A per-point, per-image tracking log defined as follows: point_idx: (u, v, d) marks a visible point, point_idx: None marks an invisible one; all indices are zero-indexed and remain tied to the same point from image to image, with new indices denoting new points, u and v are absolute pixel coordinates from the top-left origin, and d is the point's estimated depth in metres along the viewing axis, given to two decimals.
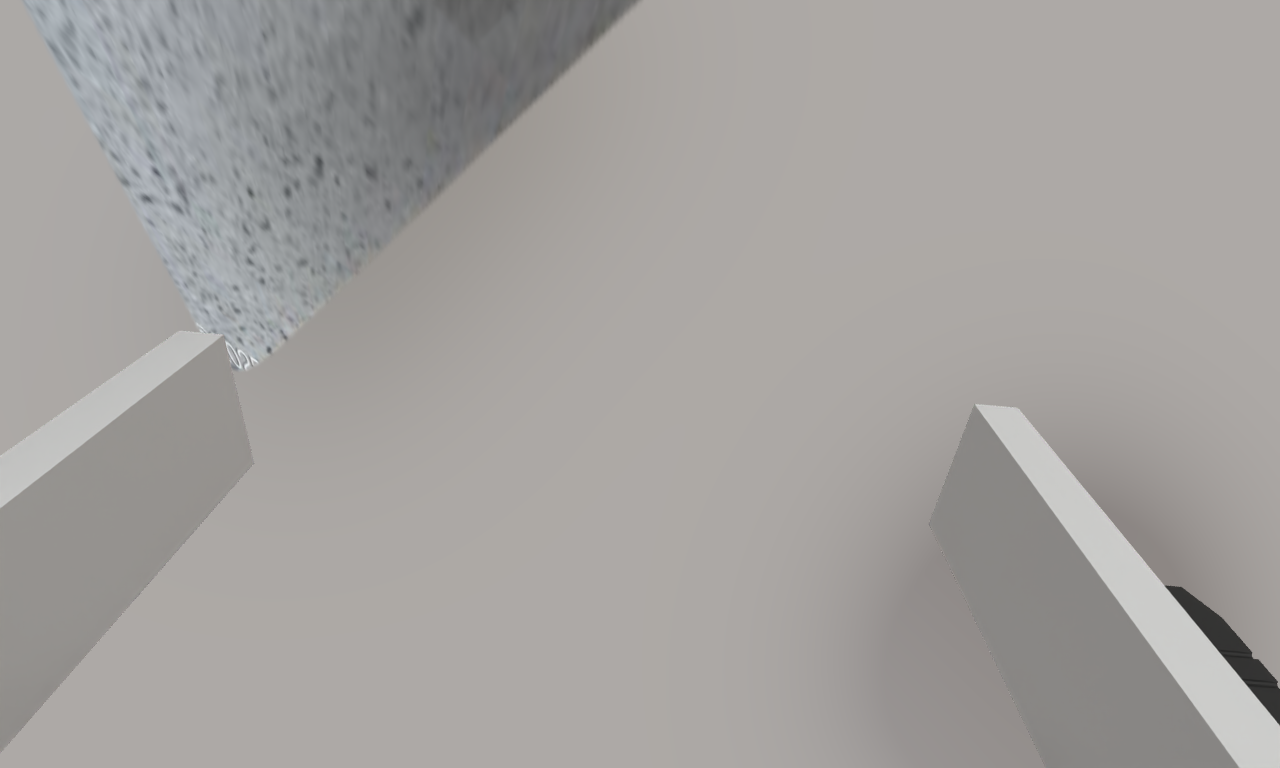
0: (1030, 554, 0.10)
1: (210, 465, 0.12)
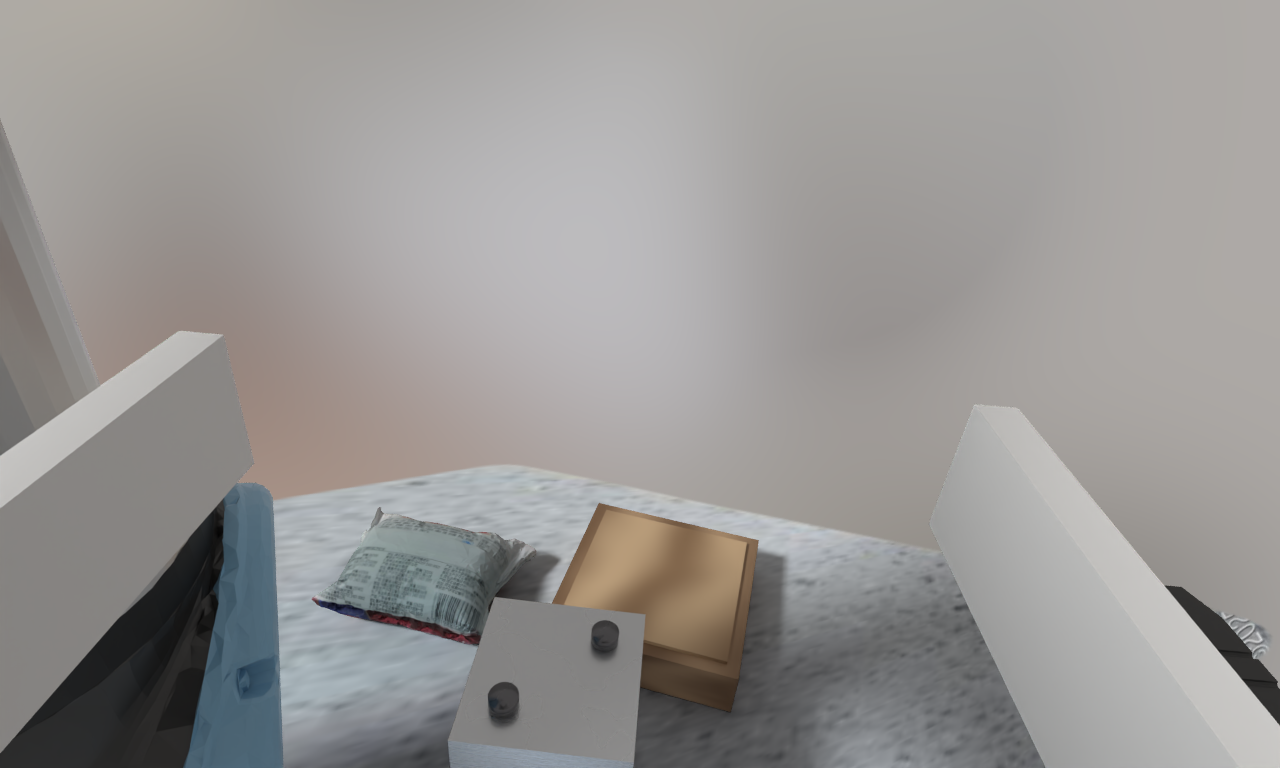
0: (1030, 554, 0.10)
1: (210, 465, 0.12)
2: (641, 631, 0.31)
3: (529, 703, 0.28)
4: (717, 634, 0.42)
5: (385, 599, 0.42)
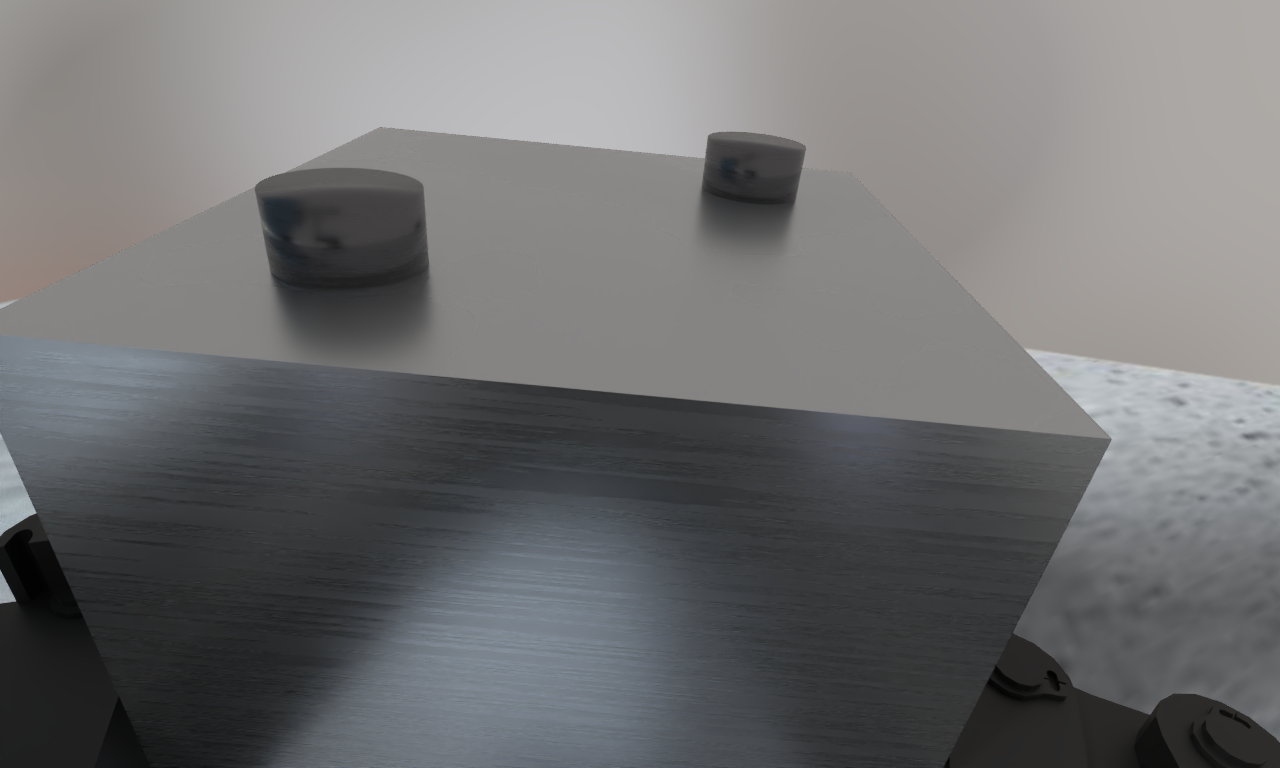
0: None
1: None
2: (858, 189, 0.09)
3: (477, 264, 0.06)
4: None
5: None
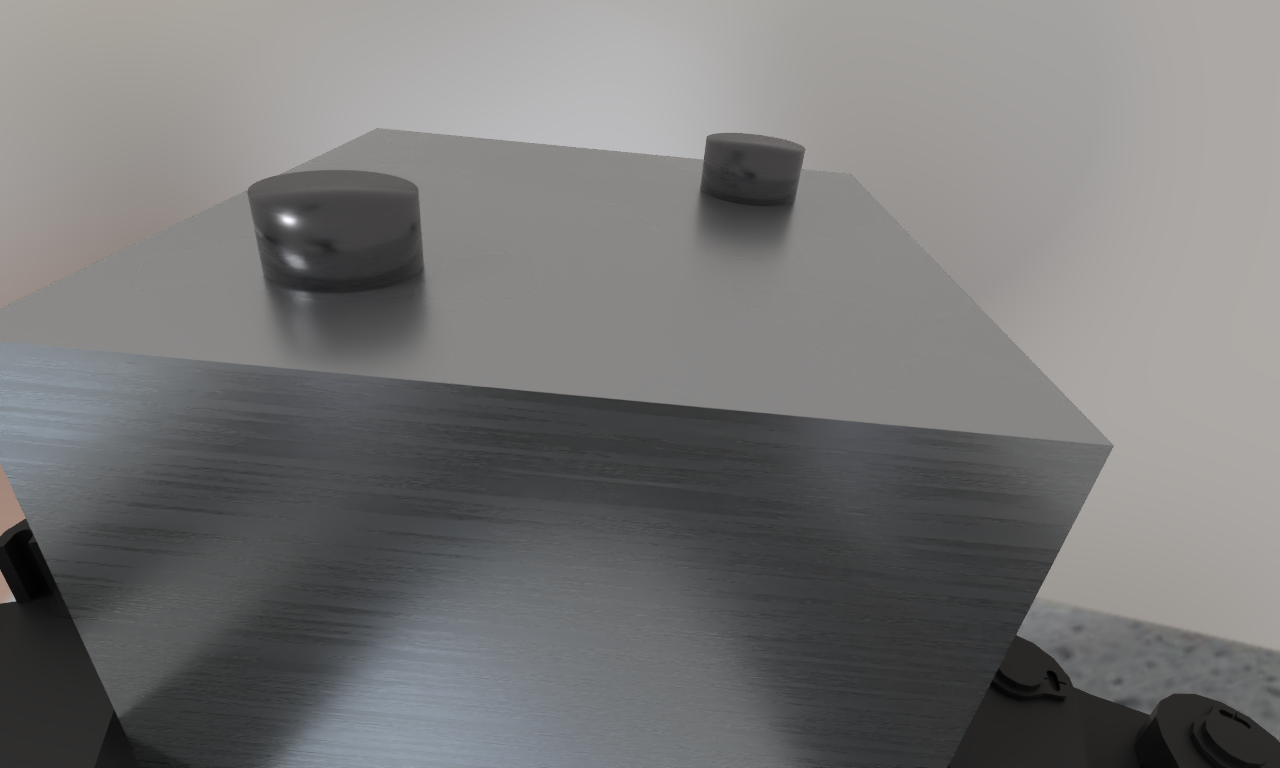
0: None
1: None
2: (858, 191, 0.09)
3: (472, 268, 0.06)
4: None
5: None
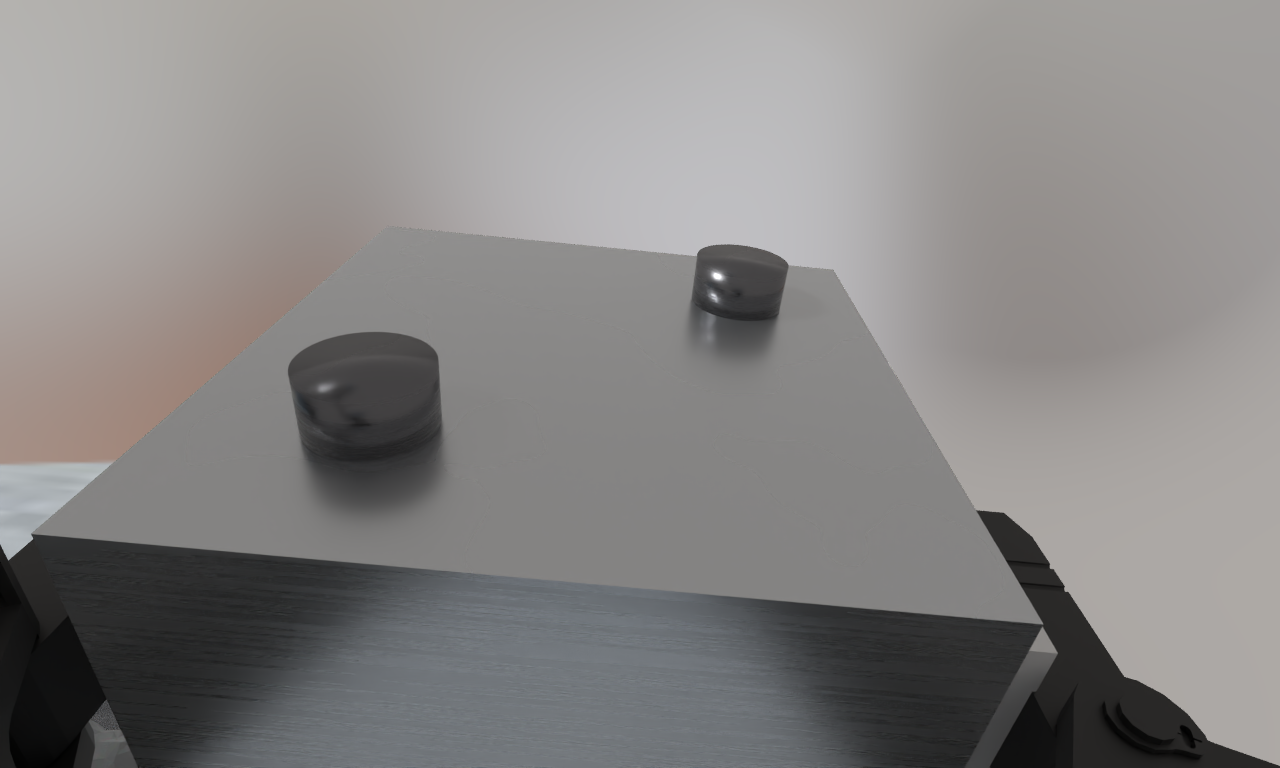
0: None
1: None
2: (838, 293, 0.10)
3: (486, 420, 0.06)
4: None
5: None
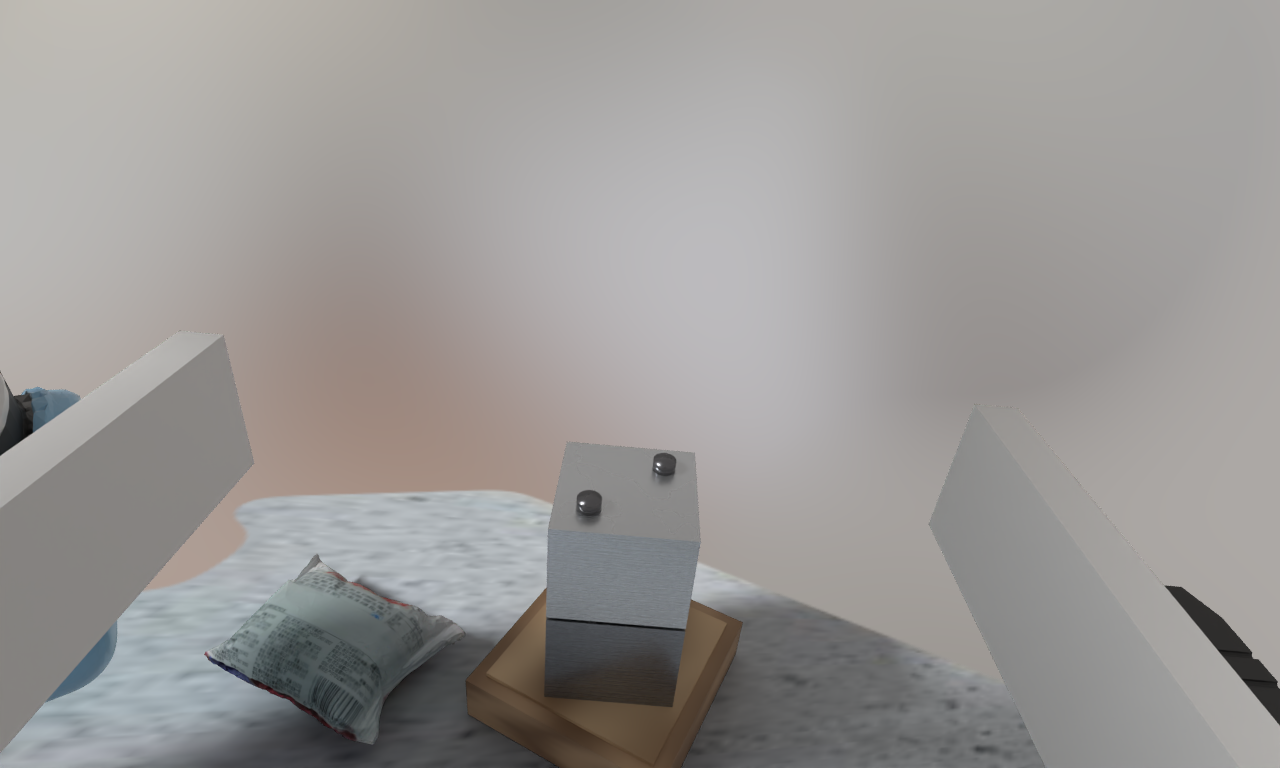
0: (1029, 554, 0.10)
1: (210, 465, 0.12)
2: (693, 463, 0.37)
3: (609, 507, 0.33)
4: (653, 728, 0.37)
5: (267, 671, 0.38)
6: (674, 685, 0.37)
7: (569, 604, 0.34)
